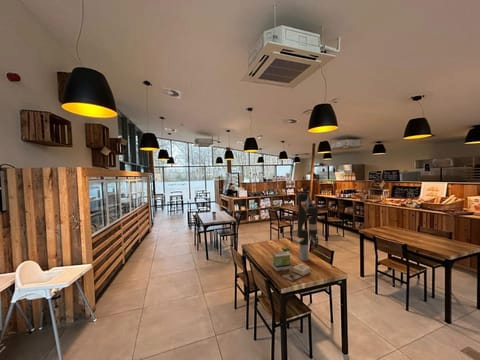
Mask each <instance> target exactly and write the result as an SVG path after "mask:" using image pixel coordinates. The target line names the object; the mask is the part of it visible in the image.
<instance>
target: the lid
mask: <svg viewBox="0 0 480 360" xmlns="http://www.w3.org/2000/svg"><path fill="white" fill-rule="evenodd" d="M288 270H289V271H288V272H287V273H285V274H283V275H281V276H282V277H283V278H285V279H287V280H290V281H292V282H293V281H295V280H297V279H299V278H301V276H302V275H300V274H297V273H295V272H293V268H290V269H288ZM283 278H282V279H283ZM285 279H284V280H285ZM301 279H302V278H301ZM287 280H286V281H287ZM299 280H300V279H299ZM290 281H289V282H290ZM292 282H291V283H292Z"/></svg>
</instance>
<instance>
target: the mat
mask: <svg viewBox="0 0 480 360" xmlns="http://www.w3.org/2000/svg"><path fill="white" fill-rule="evenodd" d="M282 276H283V275H281V276H280V278H282V279H284V280H285V281H288V282H290V283H292V284H293V283H296V282H297V281H299V280H301V279H302V278H304V276H302V275H300V276H301V278H299V279H297V280H295V281H293V282H292V281H290V280H287V279H285V278H283V277H282Z"/></svg>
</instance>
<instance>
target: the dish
mask: <svg viewBox="0 0 480 360" xmlns="http://www.w3.org/2000/svg"><path fill="white" fill-rule="evenodd" d="M292 269H293V273H295V274H297V275H299V276H302V277H304V276H306V275H307V274H309V273H311V268H310V266H307V265H304V264H302V263H299V264H297V265H295V266H292Z"/></svg>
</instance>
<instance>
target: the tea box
mask: <svg viewBox="0 0 480 360" xmlns="http://www.w3.org/2000/svg"><path fill="white" fill-rule="evenodd" d="M272 268H273V269H274V270H275V271H276V272H278V271H285V270H289V269H291V255H290V254H289V253H288V252H287V251H284V252H283V251H282V252H273V253H272Z"/></svg>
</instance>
